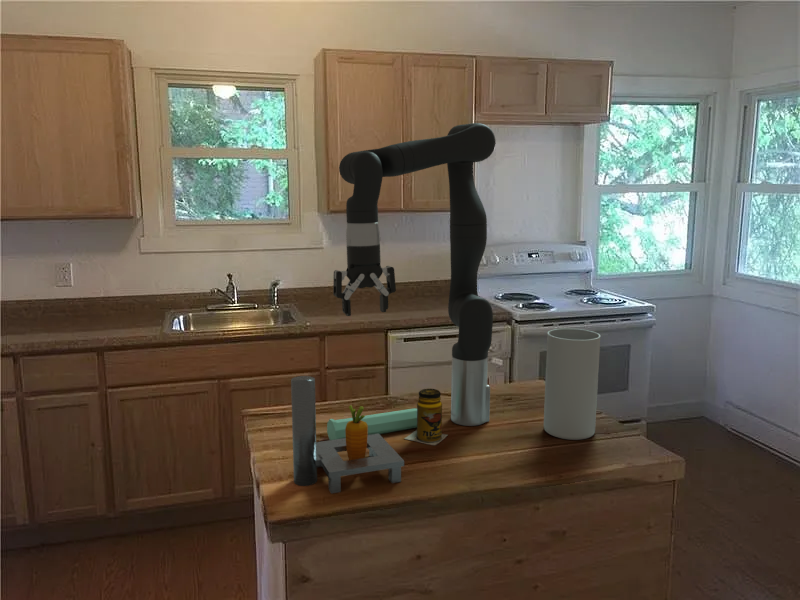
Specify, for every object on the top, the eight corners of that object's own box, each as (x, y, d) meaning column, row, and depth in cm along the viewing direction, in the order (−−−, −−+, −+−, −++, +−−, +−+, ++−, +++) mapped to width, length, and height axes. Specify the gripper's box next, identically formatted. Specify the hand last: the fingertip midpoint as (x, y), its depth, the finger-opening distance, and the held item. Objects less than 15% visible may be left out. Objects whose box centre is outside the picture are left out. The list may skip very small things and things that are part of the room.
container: (419, 400, 171) (328, 413, 160) (430, 415, 167) (337, 430, 155) (415, 418, 174) (325, 432, 163) (425, 433, 169) (333, 449, 158)
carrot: (342, 469, 144) (342, 403, 141) (364, 466, 146) (364, 400, 143) (348, 478, 139) (348, 410, 137) (371, 475, 141) (371, 407, 139)
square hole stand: (378, 453, 152) (378, 360, 149) (404, 482, 138) (404, 380, 134) (286, 467, 145) (283, 370, 141) (302, 499, 130) (299, 392, 126)
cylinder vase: (553, 419, 174) (557, 326, 170) (600, 428, 168) (606, 332, 164) (536, 434, 164) (540, 336, 160) (586, 444, 158) (592, 342, 153)
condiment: (435, 446, 157) (436, 397, 155) (403, 439, 161) (404, 392, 159) (448, 435, 163) (449, 389, 161) (417, 429, 167) (418, 384, 165)
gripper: (386, 239, 155) (388, 307, 158) (327, 243, 149) (331, 313, 152) (398, 242, 148) (400, 313, 151) (337, 246, 142) (340, 320, 146)
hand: (365, 313), depth 152 cm, fingers open, 8 cm apart
